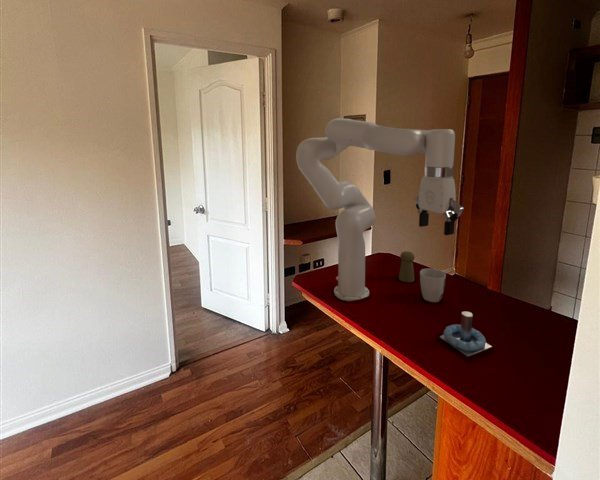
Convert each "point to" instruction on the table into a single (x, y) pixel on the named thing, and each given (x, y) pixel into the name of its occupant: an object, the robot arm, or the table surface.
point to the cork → (406, 267)
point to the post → (466, 334)
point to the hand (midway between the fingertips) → (435, 230)
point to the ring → (461, 344)
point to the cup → (432, 284)
